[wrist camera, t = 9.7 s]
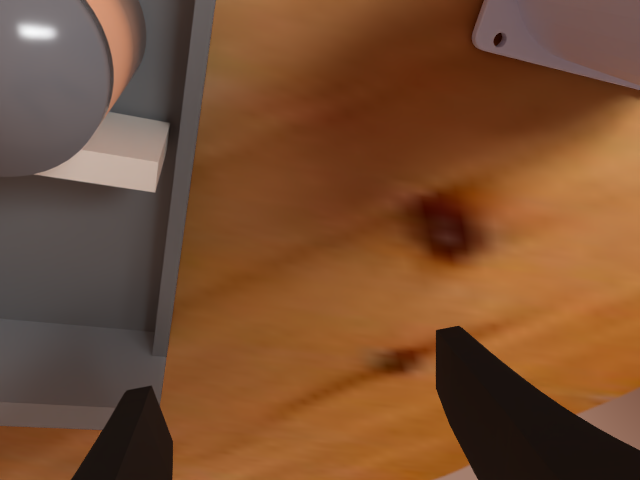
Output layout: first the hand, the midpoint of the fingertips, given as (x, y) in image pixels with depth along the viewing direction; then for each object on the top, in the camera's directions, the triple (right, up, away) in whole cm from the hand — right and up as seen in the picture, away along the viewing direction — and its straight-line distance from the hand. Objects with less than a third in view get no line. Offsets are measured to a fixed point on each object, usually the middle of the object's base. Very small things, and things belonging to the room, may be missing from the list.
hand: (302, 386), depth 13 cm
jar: (-8, +11, +4) cm, 14 cm away
